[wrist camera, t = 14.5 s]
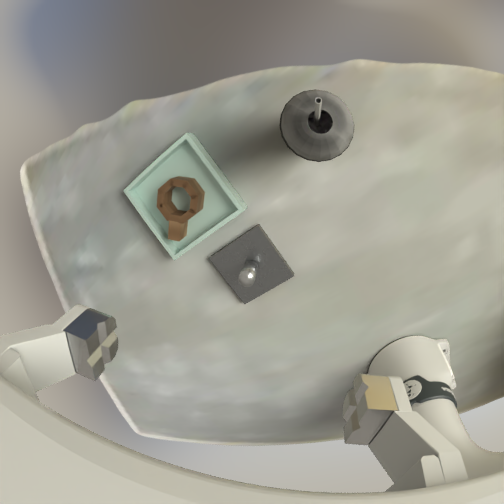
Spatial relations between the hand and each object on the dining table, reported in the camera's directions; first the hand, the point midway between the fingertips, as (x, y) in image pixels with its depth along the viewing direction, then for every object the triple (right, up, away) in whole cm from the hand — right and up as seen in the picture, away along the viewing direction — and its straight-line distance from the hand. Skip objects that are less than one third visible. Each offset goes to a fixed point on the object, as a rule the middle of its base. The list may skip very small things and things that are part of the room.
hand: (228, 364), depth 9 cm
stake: (+1, +2, +36) cm, 36 cm away
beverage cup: (+9, +20, +28) cm, 35 cm away
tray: (-9, +12, +34) cm, 37 cm away
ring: (-9, +10, +34) cm, 37 cm away
